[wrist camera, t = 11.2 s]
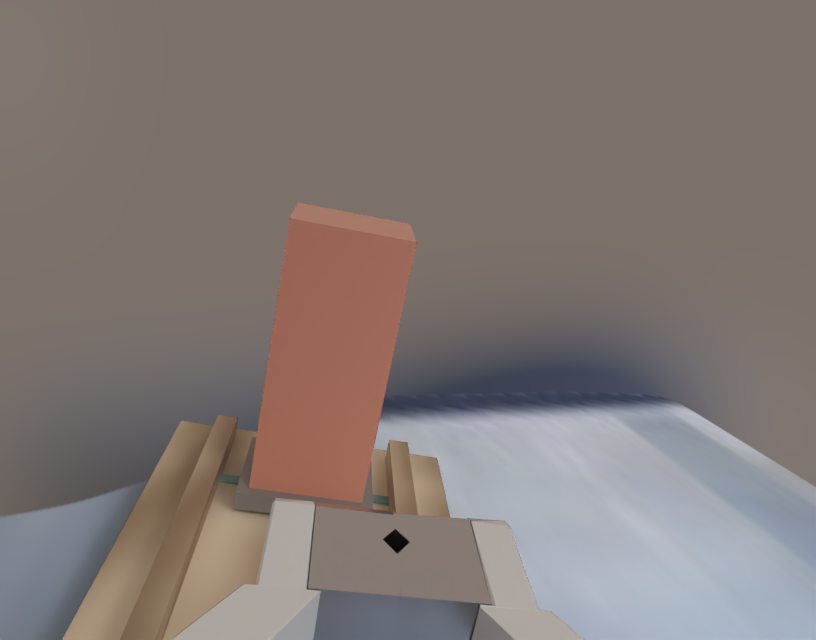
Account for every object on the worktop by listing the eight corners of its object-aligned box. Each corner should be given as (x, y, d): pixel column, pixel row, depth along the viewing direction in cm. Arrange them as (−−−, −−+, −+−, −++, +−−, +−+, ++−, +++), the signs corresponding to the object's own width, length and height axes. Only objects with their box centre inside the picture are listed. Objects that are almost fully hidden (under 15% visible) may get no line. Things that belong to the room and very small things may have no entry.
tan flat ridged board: (431, 481, 38) (441, 439, 37) (540, 1049, 15) (573, 971, 15) (178, 445, 36) (183, 400, 36) (-122, 1029, 14) (-126, 939, 13)
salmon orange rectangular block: (368, 467, 35) (419, 223, 31) (369, 526, 30) (430, 247, 26) (250, 450, 34) (288, 199, 30) (232, 508, 29) (275, 217, 25)
